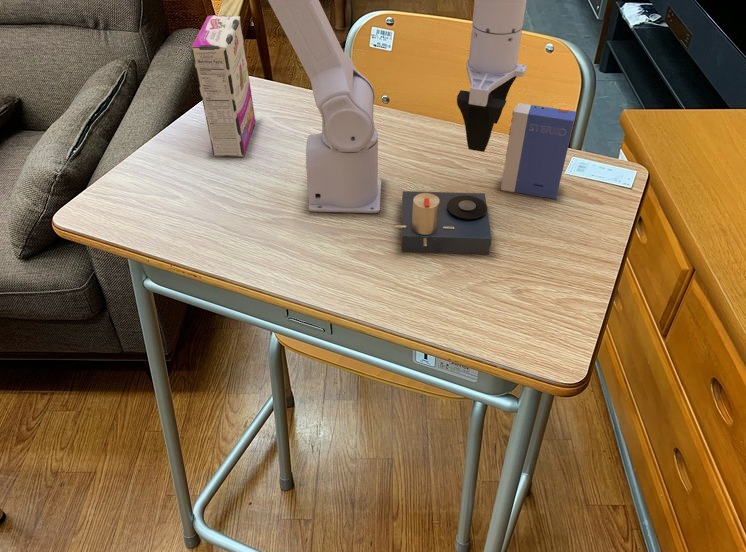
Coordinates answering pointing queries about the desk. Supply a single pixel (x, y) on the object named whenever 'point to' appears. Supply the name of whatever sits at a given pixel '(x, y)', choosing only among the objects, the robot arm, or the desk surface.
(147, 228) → the desk surface
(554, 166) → the walkman
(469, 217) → the burner
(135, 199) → the desk surface
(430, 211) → the knob
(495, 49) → the robot arm
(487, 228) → the hot plate
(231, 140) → the candy bar box
